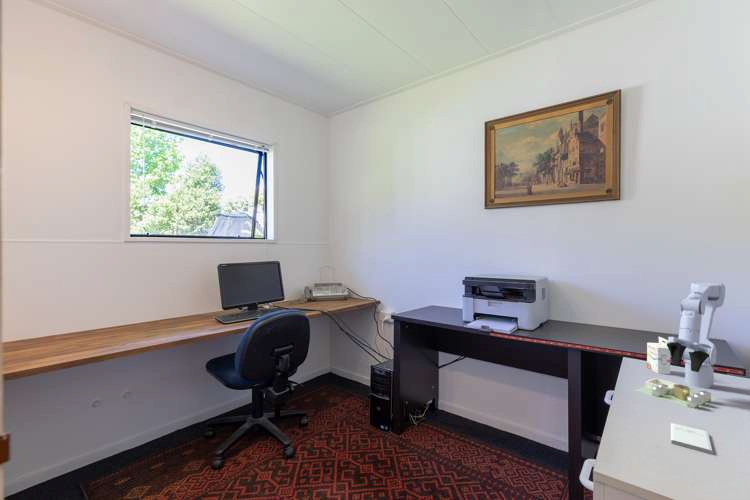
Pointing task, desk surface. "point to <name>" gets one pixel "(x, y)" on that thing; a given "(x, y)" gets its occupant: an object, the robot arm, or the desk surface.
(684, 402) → the mat
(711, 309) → the robot arm
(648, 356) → the ink cartridge box
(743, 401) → the desk surface
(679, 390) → the nut
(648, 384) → the tray
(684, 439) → the external hard drive
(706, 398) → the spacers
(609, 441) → the desk surface
